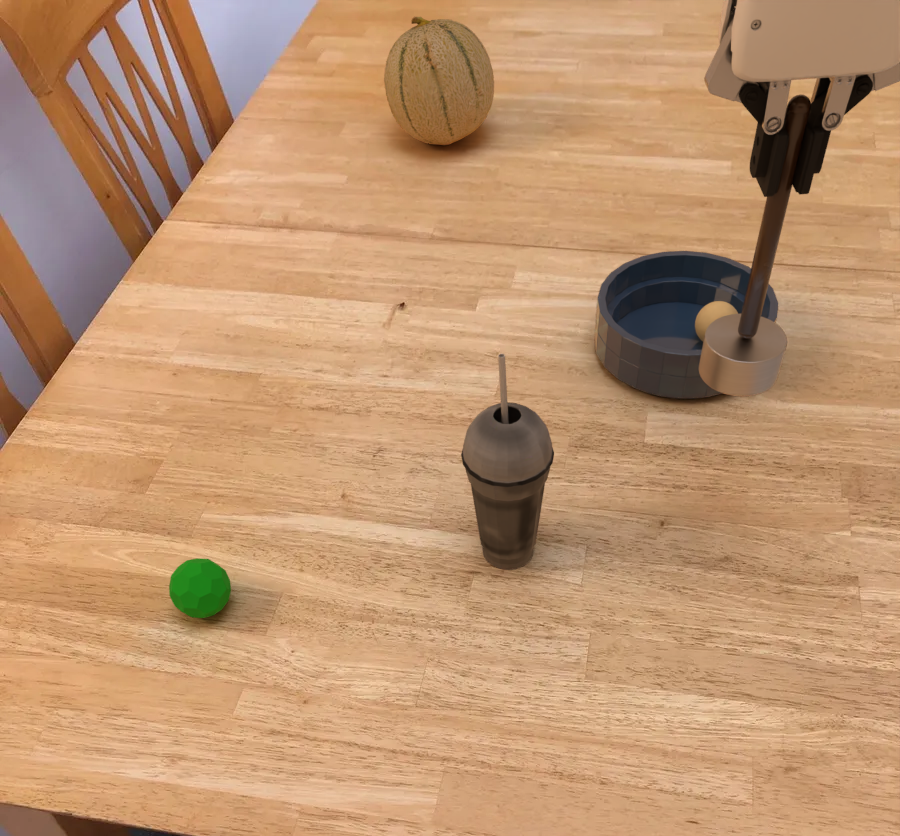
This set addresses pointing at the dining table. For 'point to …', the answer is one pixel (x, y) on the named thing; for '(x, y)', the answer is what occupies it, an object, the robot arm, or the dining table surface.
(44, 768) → the dining table surface
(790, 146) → the weighted rod stand
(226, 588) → the polyhedron
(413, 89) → the cantaloupe
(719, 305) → the yellow ball
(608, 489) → the dining table surface
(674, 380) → the bowl
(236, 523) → the dining table surface
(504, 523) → the beverage cup
